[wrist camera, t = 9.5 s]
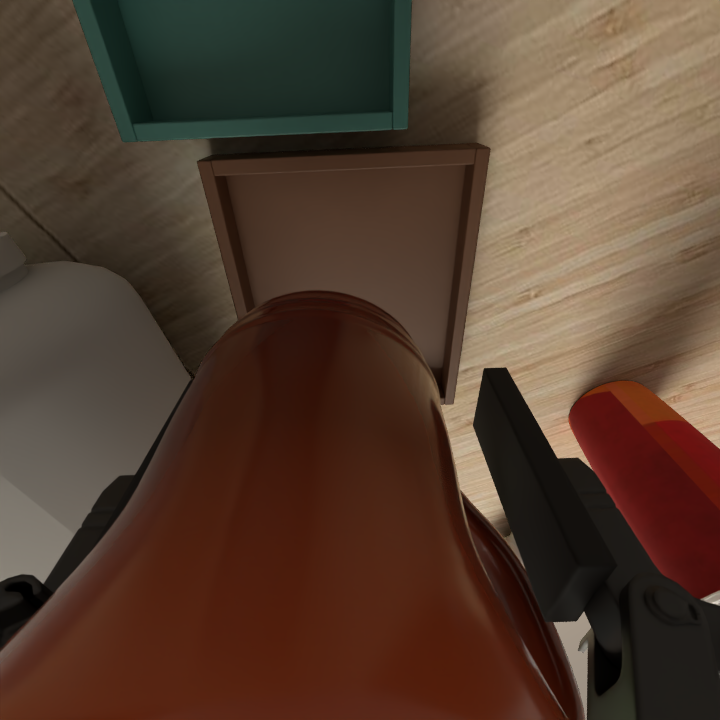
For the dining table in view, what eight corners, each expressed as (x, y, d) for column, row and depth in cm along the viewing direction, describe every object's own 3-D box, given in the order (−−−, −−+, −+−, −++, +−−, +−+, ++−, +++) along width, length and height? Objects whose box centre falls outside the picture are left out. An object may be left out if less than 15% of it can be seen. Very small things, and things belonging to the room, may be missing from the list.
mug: (165, 395, 14) (-117, 834, 6) (268, 189, 10) (-224, 695, 2) (412, 499, 18) (459, 848, 10) (558, 384, 14) (866, 821, 5)
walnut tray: (477, 142, 17) (491, 147, 15) (447, 384, 25) (453, 404, 23) (211, 154, 17) (195, 160, 15) (267, 391, 25) (261, 411, 24)
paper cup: (563, 458, 30) (695, 685, 18) (542, 393, 26) (695, 632, 14) (671, 425, 27) (896, 657, 16) (667, 349, 24) (962, 586, 12)
